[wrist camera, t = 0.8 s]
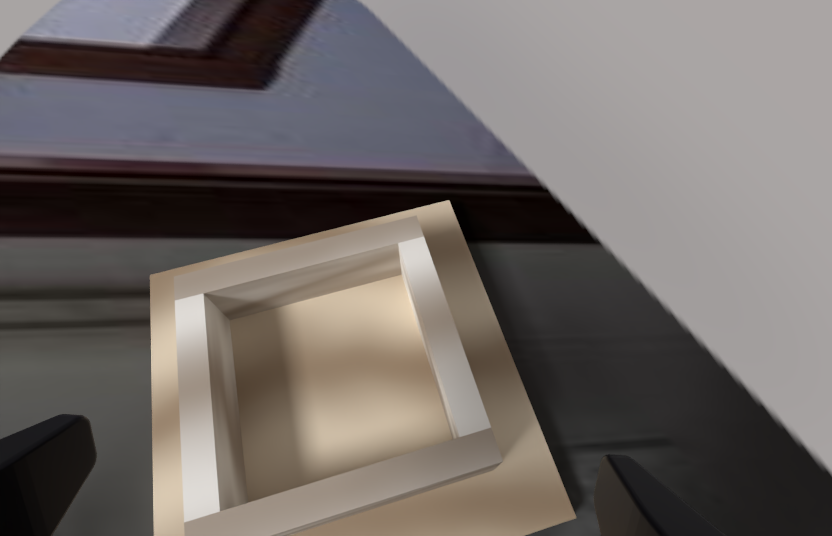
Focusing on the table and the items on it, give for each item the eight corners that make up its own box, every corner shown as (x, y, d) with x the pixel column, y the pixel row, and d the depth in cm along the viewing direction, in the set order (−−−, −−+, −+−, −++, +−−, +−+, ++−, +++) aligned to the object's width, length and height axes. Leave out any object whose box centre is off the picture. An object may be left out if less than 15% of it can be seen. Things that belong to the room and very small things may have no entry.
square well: (570, 518, 19) (600, 516, 16) (169, 653, 17) (103, 685, 14) (448, 210, 27) (451, 163, 23) (159, 283, 25) (115, 244, 21)
